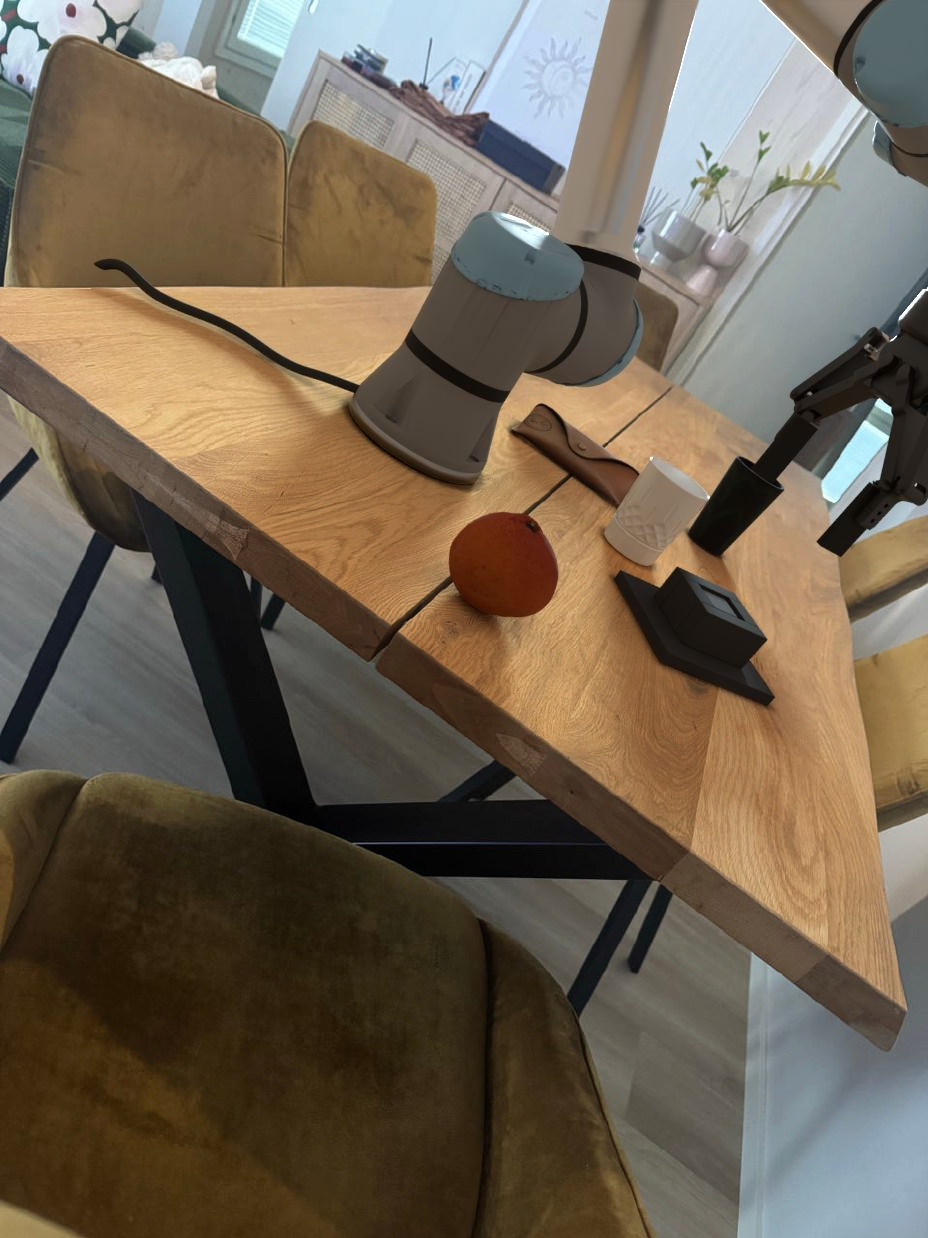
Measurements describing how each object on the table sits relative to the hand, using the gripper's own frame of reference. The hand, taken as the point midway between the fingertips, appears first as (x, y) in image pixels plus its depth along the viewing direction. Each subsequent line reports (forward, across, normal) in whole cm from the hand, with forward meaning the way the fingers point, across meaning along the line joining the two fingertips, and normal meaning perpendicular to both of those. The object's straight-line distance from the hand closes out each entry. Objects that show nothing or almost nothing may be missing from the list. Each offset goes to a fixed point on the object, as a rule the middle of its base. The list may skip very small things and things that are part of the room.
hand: (792, 510), depth 85 cm
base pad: (+16, 0, 0) cm, 16 cm away
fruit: (+16, -10, +27) cm, 33 cm away
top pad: (+15, 0, 0) cm, 15 cm away
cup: (+17, +32, -19) cm, 41 cm away
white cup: (+16, +16, +1) cm, 23 cm away
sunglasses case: (+17, +36, +2) cm, 40 cm away
